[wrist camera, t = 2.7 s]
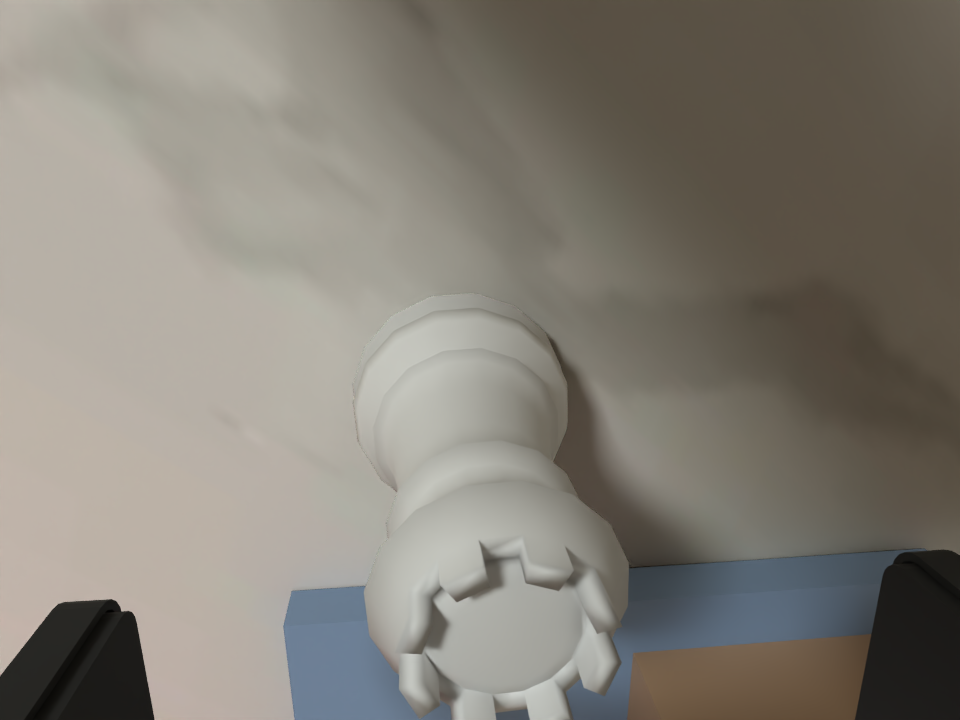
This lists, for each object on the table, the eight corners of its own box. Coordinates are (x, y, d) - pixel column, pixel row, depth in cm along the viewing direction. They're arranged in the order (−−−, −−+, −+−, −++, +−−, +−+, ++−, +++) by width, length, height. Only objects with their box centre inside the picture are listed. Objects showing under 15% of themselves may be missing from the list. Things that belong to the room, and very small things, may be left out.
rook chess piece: (597, 348, 15) (789, 580, 8) (492, 507, 16) (568, 849, 9) (418, 247, 14) (433, 400, 6) (317, 425, 15) (229, 736, 7)
